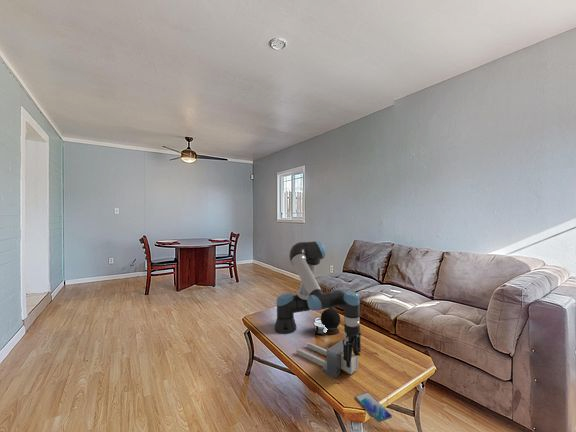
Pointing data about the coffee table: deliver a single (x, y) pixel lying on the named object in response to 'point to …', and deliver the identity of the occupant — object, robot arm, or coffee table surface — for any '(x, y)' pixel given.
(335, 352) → the housing
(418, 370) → the coffee table surface
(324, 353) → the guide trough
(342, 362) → the plug
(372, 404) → the smartphone
